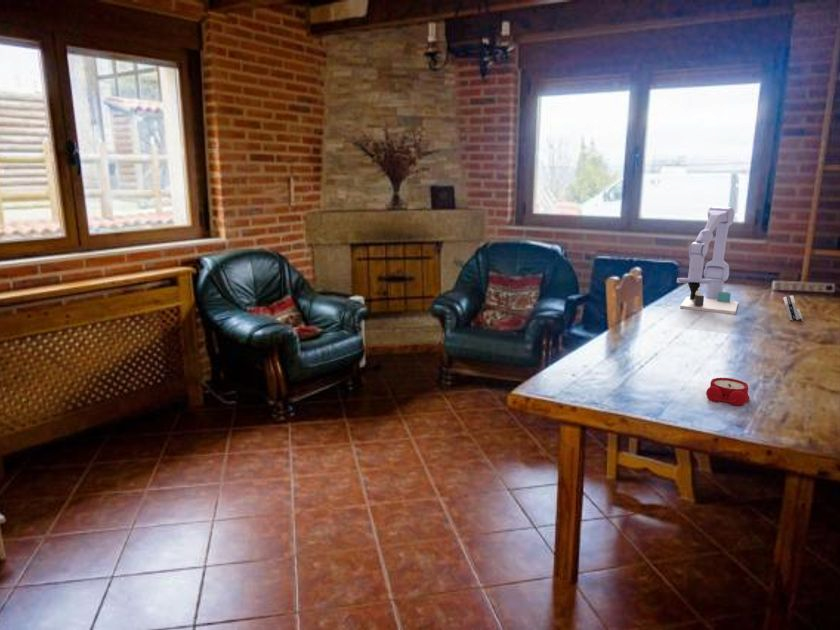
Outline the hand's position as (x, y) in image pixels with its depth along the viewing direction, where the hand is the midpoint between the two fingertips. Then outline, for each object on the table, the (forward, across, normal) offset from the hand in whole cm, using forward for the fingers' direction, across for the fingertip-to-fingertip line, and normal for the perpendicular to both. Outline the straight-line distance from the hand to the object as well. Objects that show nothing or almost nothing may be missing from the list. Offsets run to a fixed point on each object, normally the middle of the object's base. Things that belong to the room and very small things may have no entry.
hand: (692, 298), depth 273 cm
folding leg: (+2, +3, +2) cm, 4 cm away
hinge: (+4, +37, -14) cm, 39 cm away
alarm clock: (+4, -22, -118) cm, 120 cm away
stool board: (+3, +8, +2) cm, 9 cm away
